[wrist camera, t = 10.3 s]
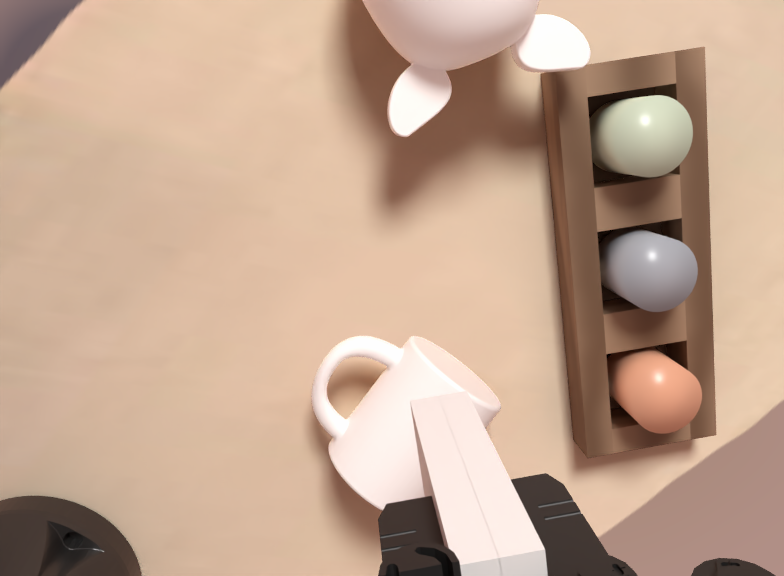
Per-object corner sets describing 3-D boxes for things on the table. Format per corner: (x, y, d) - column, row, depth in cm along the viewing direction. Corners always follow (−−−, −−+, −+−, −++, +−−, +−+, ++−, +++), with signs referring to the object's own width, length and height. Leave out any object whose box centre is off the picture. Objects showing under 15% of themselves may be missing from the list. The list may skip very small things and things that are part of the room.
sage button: (587, 177, 46) (617, 183, 41) (581, 105, 45) (612, 101, 39) (655, 166, 46) (694, 170, 41) (651, 94, 45) (691, 89, 40)
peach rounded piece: (604, 408, 50) (634, 439, 45) (600, 348, 49) (629, 373, 44) (666, 397, 50) (703, 426, 45) (663, 337, 49) (700, 360, 44)
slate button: (596, 298, 48) (626, 317, 43) (591, 232, 47) (622, 244, 42) (661, 287, 48) (699, 305, 43) (658, 221, 47) (696, 232, 42)
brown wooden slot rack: (573, 439, 51) (587, 458, 48) (540, 73, 44) (555, 69, 41) (695, 418, 52) (716, 435, 49) (681, 52, 45) (704, 46, 42)
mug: (487, 379, 49) (515, 425, 42) (410, 476, 51) (423, 538, 43) (361, 291, 47) (366, 322, 39) (284, 396, 49) (273, 446, 41)
